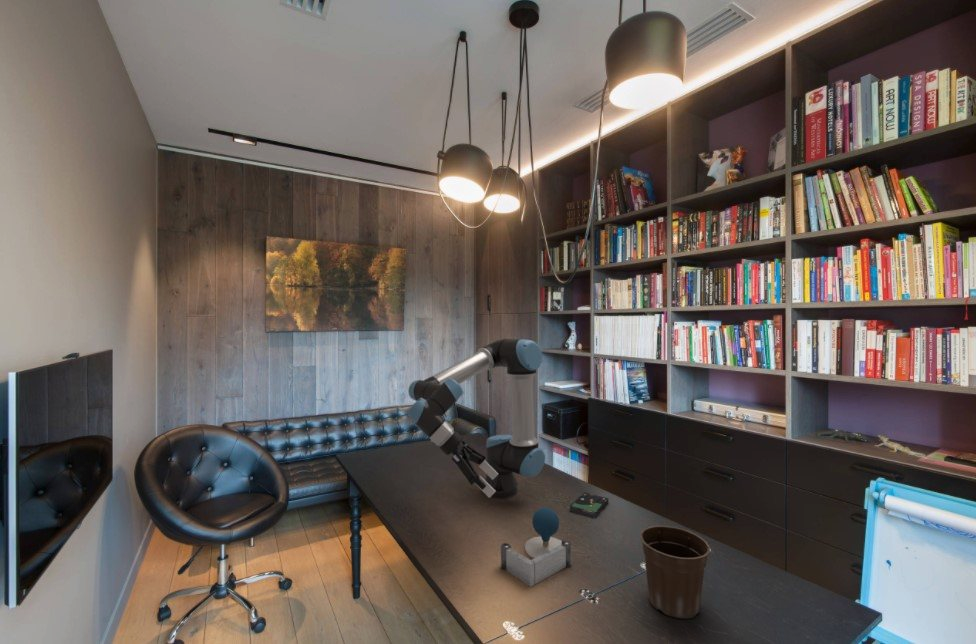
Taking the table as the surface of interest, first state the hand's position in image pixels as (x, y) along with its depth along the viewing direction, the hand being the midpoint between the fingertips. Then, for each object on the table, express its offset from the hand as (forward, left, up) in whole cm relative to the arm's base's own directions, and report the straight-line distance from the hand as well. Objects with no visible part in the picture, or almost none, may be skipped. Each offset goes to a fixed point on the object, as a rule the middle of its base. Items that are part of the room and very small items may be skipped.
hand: (494, 485), depth 136 cm
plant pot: (-18, +50, -20) cm, 57 cm away
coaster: (-11, +12, -19) cm, 25 cm away
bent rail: (-2, +16, -19) cm, 25 cm away
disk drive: (-46, +2, -20) cm, 50 cm away
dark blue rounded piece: (-11, +12, -19) cm, 25 cm away
